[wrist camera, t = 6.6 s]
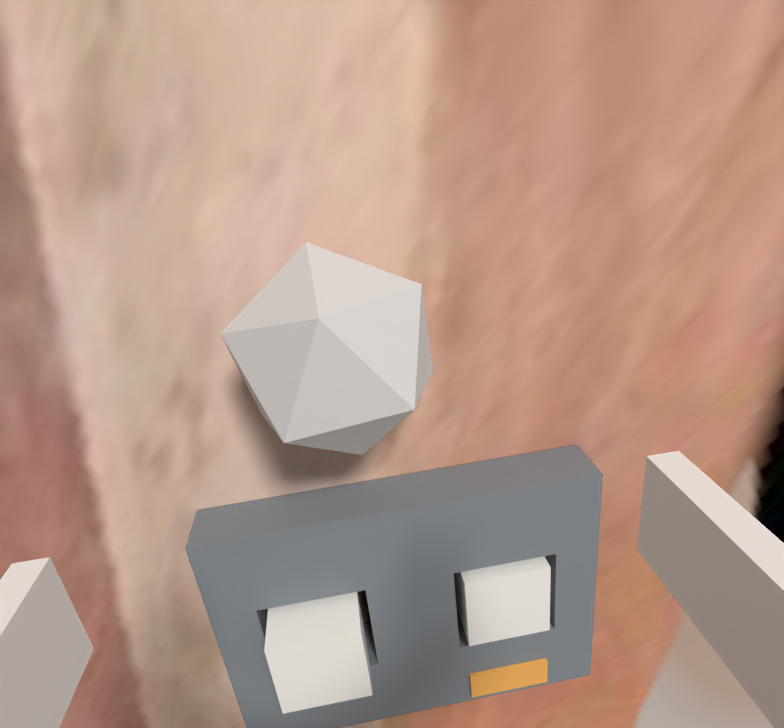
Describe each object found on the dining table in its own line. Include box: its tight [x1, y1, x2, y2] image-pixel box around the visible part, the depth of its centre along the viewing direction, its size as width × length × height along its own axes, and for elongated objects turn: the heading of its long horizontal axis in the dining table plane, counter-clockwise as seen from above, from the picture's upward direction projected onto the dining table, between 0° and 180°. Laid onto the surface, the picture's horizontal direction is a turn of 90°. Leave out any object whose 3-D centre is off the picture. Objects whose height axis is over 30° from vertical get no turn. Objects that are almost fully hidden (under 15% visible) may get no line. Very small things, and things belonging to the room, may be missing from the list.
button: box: [264, 592, 373, 714], centre depth 30 cm, size 5×5×3 cm
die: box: [221, 242, 433, 455], centre depth 23 cm, size 8×9×10 cm
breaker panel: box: [185, 445, 603, 728], centre depth 32 cm, size 22×16×3 cm
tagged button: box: [454, 556, 551, 646], centre depth 33 cm, size 5×5×3 cm
